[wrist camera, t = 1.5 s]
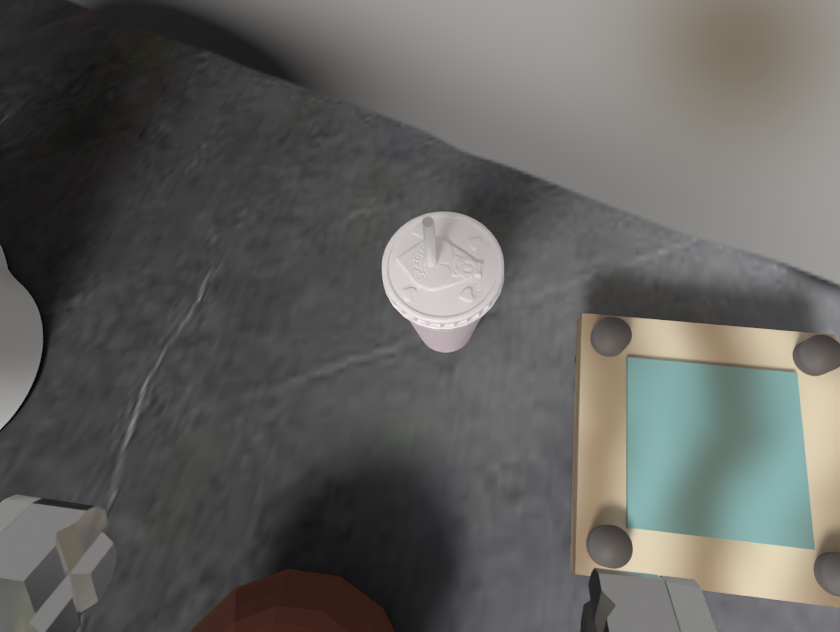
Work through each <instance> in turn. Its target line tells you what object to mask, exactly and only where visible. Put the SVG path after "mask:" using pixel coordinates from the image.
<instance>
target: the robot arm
mask: <svg viewBox="0 0 840 632" xmlns="http://www.w3.org/2000/svg"><path fill="white" fill-rule="evenodd" d="M42 347H43V328H42V322H41V317H40V314H39V311H38V308H37V306H36V304H35V302H34V300H33V298H32V296H31V295H30V294H29V292H28V291H27V290H26V289H25V287H24V286H23V285H21V284H20V283H19V282H18V281H17V280H16V279H15V278H14V277H13V275H12V274H11V273H10V271H9V270H8V267H7V263H6V259H5V255H4V252H3V249H2V247H1V245H0V429H1V428H2V427H3V426H4V425H5V424H6V423H7V422H8V421H9V420H10V419H11V417H12V416H13V415H14V414H15V412H16V411H17V410H18V408H19V407H20V405H21V404H22V402H23V401H24V399H25V397H26V396H27V394H28V392H29V390H30V388H31V386H32V384H33V382H34V379H35V376H36V374H37V371H38V368H39V364H40V360H41V355H42ZM108 524H109V523H108V520H107V517H106V514H105V510H104V509H103V508H100V507H97V506H91V505H84V504H78V503H71V502H65V501H58V500H52V499H45V498H36V497H29V496H22V495H14V496H11V497H9V498H6V499H4V500H3V501H2V502H1V503H0V632H76V631H77V630H78V628H79V627H80V626H81V611H83V610H85V609H86V608H88V607H90V606H91V605H93V604H94V603H96V602H98V601H99V599H100V598H101V596H102V595H103V593H104V592H105V590H106V589H107V588H108V586H109V584H110V581H111V578H112V576H113V573H114V570H115V566H116V551H115V547H114V543H113V542H112V541H111V540H110V539H109V538H108V537H107V536H106V535H105V534H104V533H103V531H104V529H105V528H106V527H107V525H108ZM588 585H589V592H590V599H591V600H590V601H589V602H587V603H586V604H584V607H583V613H582V618H581V631H580V632H717V630H716V627H715V625H714V622H713V619H712V616H711V614H710V611H709V608H708V606H707V603H706V600H705V598H704V595H703V592H702V590H701V587H700V585H699V584H698V583H697V582H696V580H695V579H687V578H679V577H670V576H662V575H661V576H658V575H655V574H646V573H637V572H629V571H620V570H611V569H602V568H594V569H593V571H592V573H591V576H590V580H589V584H588Z"/></svg>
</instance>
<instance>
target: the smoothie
mask: <svg viewBox="0 0 840 632" xmlns="http://www.w3.org/2000/svg"><path fill="white" fill-rule="evenodd" d="M382 276H383V283H384V287H385V292H386V294H387V296H388V298H389V300H390V301H391V303H392V305H393V307H394V308H395V309H397V310H398V311H399V312H400V313H401V314H402V315H403V316H404V317H405V318H407V319H408V320H409V321H410V322H411V324H412V325H413V327H414V328H415V330H416V331H417V333H418V334H419V336H420V337H421V339H422V340H423V342H424V343H425V344H426V345H427V346H428V347H430V348H431V349H433V350H435V351H439V352H453V351H456V350H458V349H460V348H462V347H463V346H465V345H466V344H467V343H468V341H469V340H470V338H471V336H472V334H473V332H474V330H475V328H476V327H477V325H478V323H479V321H480V319H481V317H482V316H483V315H484V314H485V313H486V312H487V311H488V310H490V309H491V308H492V306H493V305H494V303H495V302H496V300H497V298H498V297H499V295H500V293H501V289H502V286H503V282H504V259H503V254H502V250H501V248H500V245H499V243H498V241H497V240H496V238H495V237H494V235H493V234H492V233H491V232H490V231H489V230H488V229H487V228H486V227H485V226H484V225H483V224H481V223H480V222H479V221H477V220H475V219H473V218H471V217H469V216H466V215H463V214H460V213H455V212H433V213H428V214H424V215H421V216H419V217H416V218H414V219H412V220H410V221H409V222H407V223H406V224H404V225H403V226H402V227H401V228H400V229H399V230H398V231H397V232H396V233H395V234H394V235H393V236H392V238H391V239H390V241H389V243H388V245H387V247H386V249H385V252H384V255H383V260H382Z"/></svg>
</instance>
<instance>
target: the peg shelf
mask: <svg viewBox="0 0 840 632" xmlns="http://www.w3.org/2000/svg"><path fill="white" fill-rule="evenodd" d="M575 362H576V373H575V408H574V443H573V478H572V513H571V538H570V546H571V548H570V572H571V573H574V574H579V575H587V576H591V573H592V571H593V569H594V568H602V569H611V570H620V571H629V572H637V573H646V574H655V575H658V576H661V575H662V576H670V577H679V578H687V579H695V580H696V582H697V583H698V584H699V585H700V587H701V590H705V591H713V592H721V593H728V594H736V595H744V596H752V597H760V598H768V599H775V600H783V601H791V602H799V603H807V604H815V605H822V606H830V607H838V608H840V344H839V343H838V338H837V335H829V334H817V333H806V332H794V331H783V330H771V329H760V328H748V327H737V326H725V325H714V324H702V323H690V322H679V321H667V320H656V319H644V318H633V317H621V316H610V315H598V314H587V313H582V314H581V316H580V317H579V319H578V321H577V338H576V358H575Z"/></svg>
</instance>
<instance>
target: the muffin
mask: <svg viewBox="0 0 840 632" xmlns="http://www.w3.org/2000/svg"><path fill="white" fill-rule="evenodd" d="M191 632H395V631H394V629H393V627H392V625H391V623H390V621H389V619H388V617H387V615H386V613H385V611H384V609H383V608H382V607H381V606H379V605H378V604H377V603H375V602H374V601H373V600H371V599H370V598H369V597H367V596H366V595H365V594H363V593H362V592H361V591H359V590H358V589H357V588H355V587H354V586H353V585H351V584H350V583H349V582H347V581H346V580H345V579H343V578H342V577H341V576H336V575H329V574H321V573H314V572H307V571H299V570H292V569H286V570H284V571H281V572H278V573H275V574H272V575H270V576H267V577H264V578H261V579H258V580H256V581H253V582H250V583H247V584H244V585H242V586H239V587H236V588H235V589H234V590H233V591H232V592H231V593H230V594H229V595H228V596H226V597H225V598H224V599H223V600H222V601H221V602H220V603H219V604H218V605H217V606H216V607H215V608H214V609H213V610H212V611H211V612H210V613H209V614H208V615H207V616H206V617H204V618H203V619H202V620H201V621H200V622H199V623H198V624H197V625H196V626H195V627H194V628H193V629H192V630H191Z"/></svg>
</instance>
